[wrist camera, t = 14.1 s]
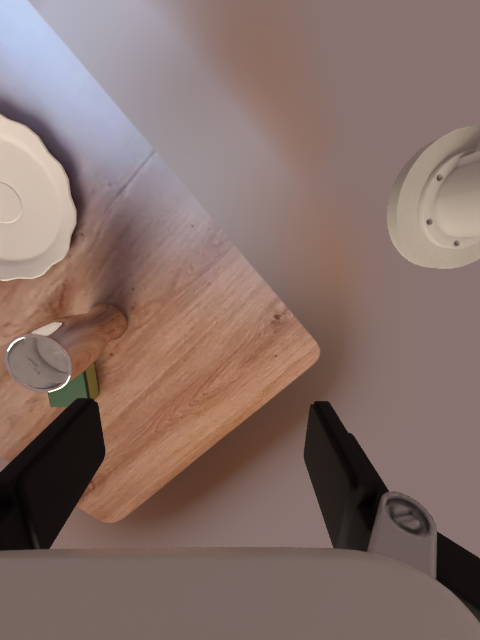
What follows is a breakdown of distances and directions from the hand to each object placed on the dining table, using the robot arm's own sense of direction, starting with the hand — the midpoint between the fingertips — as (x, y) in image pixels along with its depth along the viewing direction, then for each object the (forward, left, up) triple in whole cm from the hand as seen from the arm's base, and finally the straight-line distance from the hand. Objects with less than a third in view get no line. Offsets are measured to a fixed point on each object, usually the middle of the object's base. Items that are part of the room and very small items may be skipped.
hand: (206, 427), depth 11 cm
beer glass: (+4, -18, -30) cm, 35 cm away
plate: (-13, -30, -30) cm, 44 cm away
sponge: (+13, -24, -29) cm, 40 cm away
